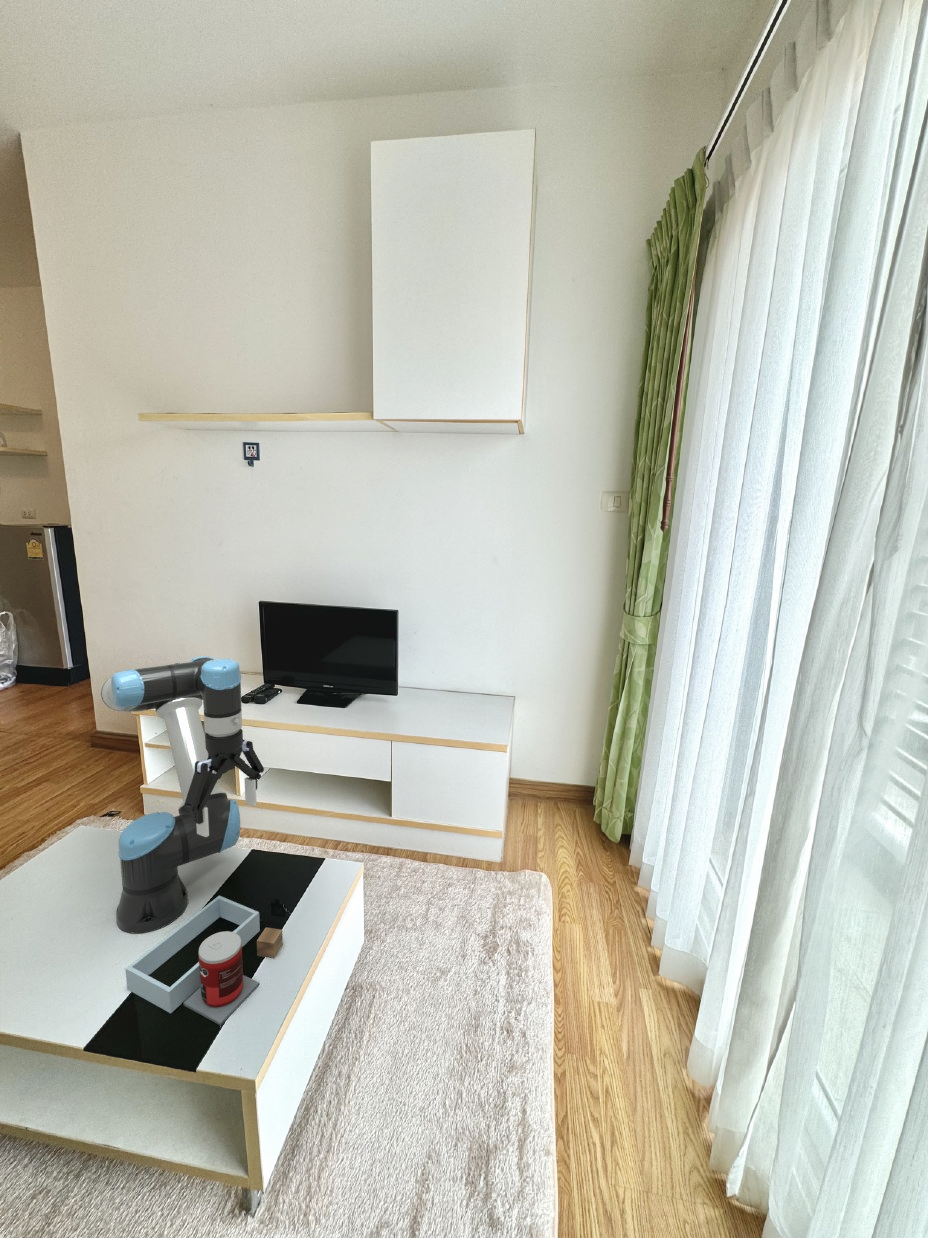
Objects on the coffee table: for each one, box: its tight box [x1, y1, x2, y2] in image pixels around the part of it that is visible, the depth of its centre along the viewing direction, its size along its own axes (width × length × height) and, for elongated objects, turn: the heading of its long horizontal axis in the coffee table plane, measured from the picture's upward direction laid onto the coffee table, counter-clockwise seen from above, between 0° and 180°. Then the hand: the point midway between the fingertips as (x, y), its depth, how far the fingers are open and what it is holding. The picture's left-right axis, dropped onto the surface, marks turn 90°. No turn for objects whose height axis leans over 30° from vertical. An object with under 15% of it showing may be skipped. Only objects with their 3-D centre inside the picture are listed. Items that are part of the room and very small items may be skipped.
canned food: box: [198, 930, 244, 1007], centre depth 109 cm, size 8×8×11 cm
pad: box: [183, 974, 260, 1026], centre depth 110 cm, size 10×10×1 cm
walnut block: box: [256, 927, 284, 960], centre depth 121 cm, size 4×4×4 cm
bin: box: [124, 895, 261, 1014], centre depth 118 cm, size 13×24×5 cm, turn 157°
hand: (228, 819), depth 121 cm, fingers open, 13 cm apart
